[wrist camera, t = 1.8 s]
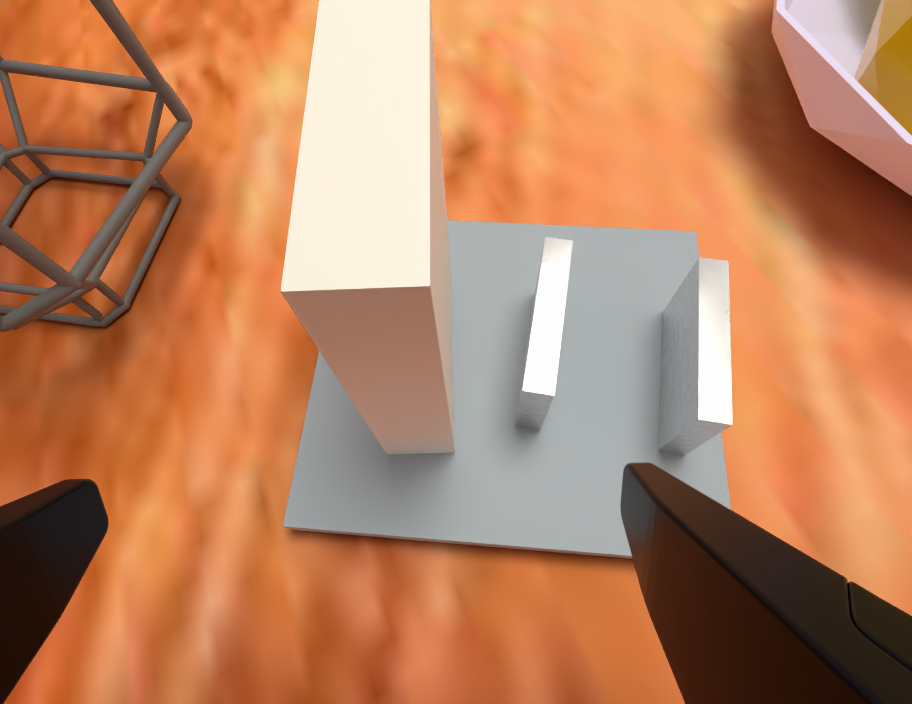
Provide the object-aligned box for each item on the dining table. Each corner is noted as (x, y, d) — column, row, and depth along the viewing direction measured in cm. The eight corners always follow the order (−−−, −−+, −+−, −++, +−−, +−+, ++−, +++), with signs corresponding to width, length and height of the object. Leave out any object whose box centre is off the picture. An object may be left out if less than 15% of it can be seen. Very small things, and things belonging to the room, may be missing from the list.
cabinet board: (722, 566, 19) (738, 565, 18) (293, 529, 20) (282, 526, 19) (686, 247, 25) (695, 231, 24) (352, 231, 26) (347, 216, 25)
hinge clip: (685, 455, 20) (732, 424, 16) (514, 426, 20) (522, 390, 17) (687, 315, 22) (728, 261, 18) (534, 293, 23) (545, 236, 19)
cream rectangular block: (454, 452, 20) (429, 285, 9) (360, 455, 20) (223, 293, 9) (451, 273, 23) (429, -7, 12) (370, 276, 23) (277, 1, 12)
